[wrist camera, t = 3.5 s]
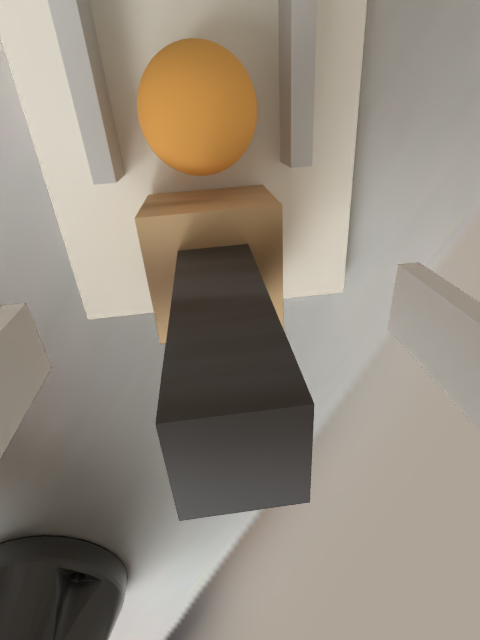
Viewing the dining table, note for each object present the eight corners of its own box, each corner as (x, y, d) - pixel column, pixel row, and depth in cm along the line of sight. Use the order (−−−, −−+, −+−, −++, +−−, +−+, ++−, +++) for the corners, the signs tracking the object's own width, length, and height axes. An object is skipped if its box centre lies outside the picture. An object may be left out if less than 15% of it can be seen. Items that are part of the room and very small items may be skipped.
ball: (251, 164, 19) (268, 178, 15) (155, 172, 19) (142, 189, 14) (246, 45, 17) (264, 20, 12) (134, 52, 16) (112, 30, 12)
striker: (266, 288, 22) (366, 530, 9) (167, 298, 22) (126, 566, 9) (262, 184, 19) (402, 328, 6) (148, 194, 19) (46, 368, 6)
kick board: (335, 282, 25) (358, 310, 21) (93, 308, 24) (76, 341, 20) (390, -518, 11) (477, -797, 8) (-157, -535, 10) (-333, -863, 7)
